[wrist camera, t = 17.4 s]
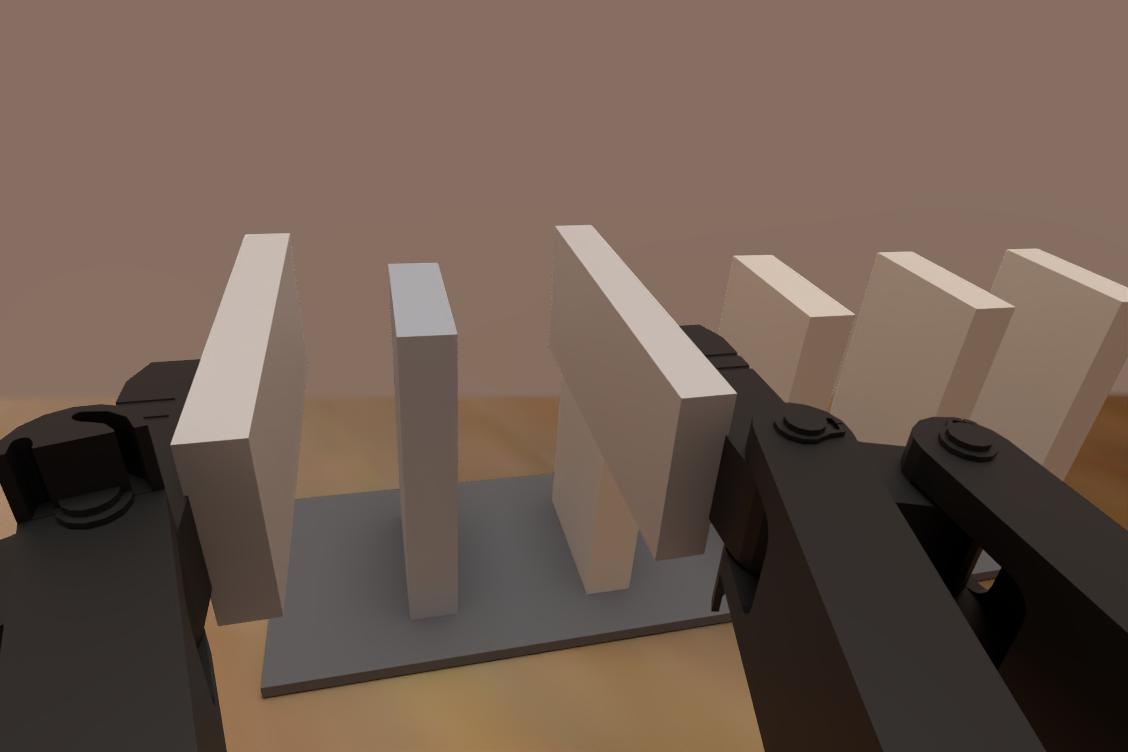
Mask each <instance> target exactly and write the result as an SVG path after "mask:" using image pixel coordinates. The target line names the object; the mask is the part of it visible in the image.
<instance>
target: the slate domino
mask: <svg viewBox="0 0 1128 752" xmlns="http://www.w3.org/2000/svg"><path fill="white" fill-rule="evenodd" d="M388 270H389V289H390V309H391V328H392V347H393V367H394V386H395V406H396V425H397V445H398V464H399V484H400V503H401V520H402V532H403V543H404V555H405V566H406V577H407V589H408V600H409V612H410V620H415V619H422V618H429V617H436V616H443V615H450V614H457V613H458V389H457V387H458V384H457V381H458V378H457V377H458V375H457V372H458V371H457V331H456V327H455V324H454V320H453V316H452V313H451V309H450V306H449V302H448V298H447V295H446V291H445V287H444V284H443V280H442V277H441V273H440V269H439V266H438V263H414V264H413V263H411V264H388Z"/></svg>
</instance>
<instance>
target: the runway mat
mask: <svg viewBox="0 0 1128 752" xmlns="http://www.w3.org/2000/svg"><path fill="white" fill-rule="evenodd" d="M553 480H554V473H551V474H541V475H531V476H521V477H511V478H501V479H491V480H481V481H471V482H462V483H458V613H457V614H450V615H443V616H436V617H429V618H422V619H415V620H410V612H409V600H408V589H407V577H406V566H405V555H404V543H403V532H402V520H401V503H400V489H392V490H382V491H372V492H362V493H352V494H342V495H332V496H322V497H312V498H302V499H295V503H294V513H293V524H292V534H291V544H290V554H289V565H288V575H287V585H286V596H285V606H284V616H283V617H277V618H270V619H269V622H268V631H267V639H266V648H265V656H264V665H263V673H262V681H261V692H262V697H263V698H265V697H271V696H278V695H284V694H290V693H296V692H302V691H308V690H314V689H320V688H326V687H332V686H339V685H345V684H351V683H357V682H363V681H369V680H375V679H381V678H387V677H394V676H400V675H406V674H412V673H418V672H424V671H430V670H436V669H442V668H448V667H455V666H461V665H467V664H473V663H479V662H485V661H491V660H497V659H503V658H509V657H516V656H522V655H528V654H534V653H540V652H546V651H552V650H558V649H564V648H571V647H577V646H583V645H589V644H595V643H601V642H607V641H613V640H619V639H625V638H632V637H638V636H644V635H650V634H656V633H662V632H668V631H674V630H680V629H687V628H693V627H699V626H705V625H711V624H717V623H723V622H729V621H732V619H731V615H730V611H729V607H728V603H727V599H726V595H724V596H723V597H722V601H721V605H720V609H719V612H711V601H712V595H713V590H714V586H715V582H716V577H717V573H718V568H719V564H720V559H721V555H722V550H723V546H724V542H723V541H722V539H721V538H720V536H719V534H718V533H717V531H716V530H715V528H714V526H713V525H712V523H710V528H709V533H708V537H707V542H706V547H705V552H704V554H701V555H694V556H688V557H681V558H674V559H668V560H661V561H655V560H654V558H653V556H652V554H651V552H650V550H649V548H648V546H647V544H646V542H645V540H644V538H643V536H642V534H641V532H640V530H639V528H638V535H637V541H636V547H635V553H634V560H633V566H632V572H631V579H630V585H629V588H628V589H621V590H614V591H607V592H601V593H594V594H587V593H586V591H585V588H584V585H583V583H582V580H581V577H580V575H579V572H578V569H577V566H576V564H575V561H574V558H573V556H572V553H571V550H570V548H569V545H568V542H567V540H566V537H565V534H564V531H563V529H562V526H561V523H560V521H559V518H558V515H557V513H556V510H555V507H554V504H553V502H552V492H553ZM1000 569H1001V566H999V565H998V564H997V563H996V562H995V561H994V560H993V559H992V558H991V557H990V556H989V555H988V554H987V553H986V552H985V551H984V550H982V553H981V555H980V557H979V559H978V561H977V563H976V565H975V568H974V570H973V572H972V574H971V577H972V578H973V579H974V580H975V581H980V580H986V579H992V578H996V577H997V575H998V573H999V571H1000Z"/></svg>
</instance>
